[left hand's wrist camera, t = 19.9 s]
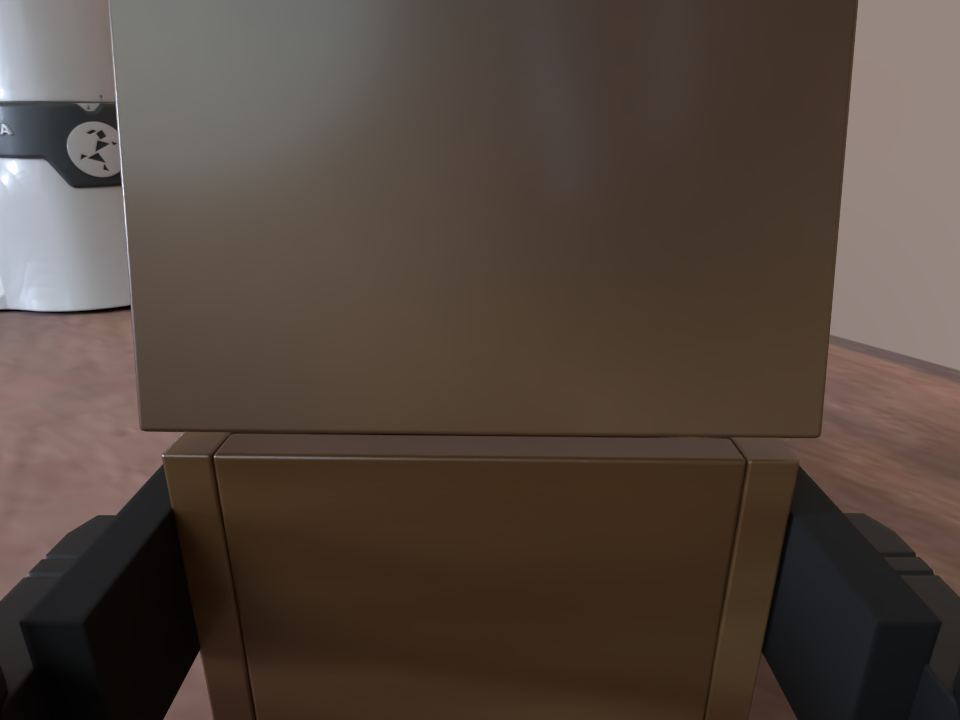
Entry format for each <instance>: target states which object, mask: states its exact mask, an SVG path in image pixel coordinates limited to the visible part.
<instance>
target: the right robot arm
mask: <svg viewBox="0 0 960 720" xmlns="http://www.w3.org/2000/svg"><path fill="white" fill-rule="evenodd" d="M128 305H131V304H130V291H129V278H128V264H127V251H126V238H125V225H124V211H123V198H122V185H121V171H120V158H119V145H118V131H117V118H116V105H115V92H114V78H113V65H112V52H111V38H110V25H109V12H108V0H0V309H18V310H29V311H81V310H94V309H104V308H113V307H121V306H128Z"/></svg>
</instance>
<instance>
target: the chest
mask: <svg viewBox="0 0 960 720" xmlns="http://www.w3.org/2000/svg"><path fill="white" fill-rule="evenodd" d="M162 460H163V465H164V470H165V475H166V480H167V485H168V491H169V496H170V501H171V506H172V508H173V512H174V517H175V522H176V527H177V532H178V538H179V543H180V548H181V553H182V558H183V563H184V568H185V573H186V578H187V583H188V588H189V593H190V598H191V603H192V609H193V614H194V619H195V624H196V629H197V634H198V639H199V644H200V653H201V658H202V663H203V668H204V673H205V678H206V684H207V689H208V694H209V699H210V704H211V709H212V714H213V719H214V720H748V717H749V712H750V707H751V702H752V697H753V692H754V687H755V682H756V677H757V673H758V668H759V663H760V658H761V653H762V648H763V643H764V638H765V633H766V628H767V623H768V618H769V613H770V608H771V603H772V598H773V593H774V588H775V583H776V578H777V573H778V568H779V563H780V558H781V553H782V548H783V543H784V538H785V533H786V528H787V523H788V518H789V513H790V508H791V503H792V498H793V493H794V488H795V483H796V478H797V473H798V468H799V461H798V459H797V458H796V457H795V456H794V455H793V454H792V453H791V451H790V450H789V449H788V448H787V447H786V446H785V445H784V443H783V442H782V441H781V440H780V439H779V438H743V437H644V436H545V435H446V434H347V433H248V432H184V433H183V434H182V435H181V436H180V437H179V438H178V439H177V440H176V441H175V442H174V443H173V444H172V445H171V446H170V447H169V448H168V449H167V450H166V451H165V452H164V453H163V455H162Z"/></svg>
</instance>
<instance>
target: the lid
mask: <svg viewBox="0 0 960 720" xmlns="http://www.w3.org/2000/svg"><path fill="white" fill-rule="evenodd" d="M857 8H858V0H108V12H109V25H110V38H111V52H112V65H113V78H114V92H115V105H116V118H117V131H118V145H119V158H120V171H121V185H122V198H123V211H124V225H125V238H126V251H127V264H128V278H129V291H130V304H131V318H132V331H133V344H134V358H135V371H136V384H137V397H138V411H139V424H140V429H141V430H143V431H149V432H248V433H347V434H446V435H545V436H644V437H743V438H817V437H820V435H821V427H822V415H823V404H824V392H825V380H826V369H827V357H828V345H829V334H830V322H831V311H832V299H833V287H834V276H835V264H836V252H837V241H838V229H839V217H840V206H841V194H842V182H843V171H844V159H845V148H846V136H847V124H848V112H849V101H850V90H851V78H852V66H853V54H854V43H855V31H856V20H857Z"/></svg>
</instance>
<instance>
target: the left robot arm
mask: <svg viewBox="0 0 960 720" xmlns="http://www.w3.org/2000/svg"><path fill="white" fill-rule="evenodd" d="M915 554H916V553H915V552H914V551H913V550H912V549H911V548H910V547H909V546H908V545H907V544H906V543H905V542H904V541H903V540H902V539H901V538H900V537H899V536H898V535H897V534H896V533H895V532H894V531H892V530H890V529H889V528H887V527H886V526H884V525H882V524H881V523H879V522H877V521H876V520H874V519H872V518H871V517H869V516H867V515H866V514H864V513H842V512H841V511H840V510H839V508H838V507H837V506H836V505H835V504H834V503H833V502H832V501H831V500H830V499H829V498H828V496H827V495H826V494H825V493H824V492H823V491H822V490H821V489H820V488H819V487H818V485H817V484H816V483H815V482H814V481H813V480H812V479H811V478H810V477H809V476H808V475H807V473H806V472H805V471H804V470H803V469H802V468H801V467H800V466H799V468H798V473H797V478H796V483H795V488H794V493H793V498H792V503H791V508H790V513H789V518H788V523H787V528H786V533H785V538H784V543H783V548H782V553H781V558H780V563H779V568H778V573H777V578H776V583H775V588H774V593H773V598H772V603H771V608H770V613H769V618H768V623H767V628H766V633H765V638H764V643H763V648H762V653H763V655H764V656H765V658H766V660H767V662H768V664H769V666H770V668H771V670H772V672H773V674H774V675H775V677H776V679H777V681H778V683H779V685H780V687H781V689H782V691H783V693H784V694H785V696H786V698H787V700H788V702H789V704H790V706H791V708H792V710H793V712H794V713H795V715H796V717H797V719H798V720H960V597H959V596H958V595H957V594H956V593H955V592H954V591H953V590H952V589H951V588H950V587H949V586H948V585H947V584H946V583H945V582H944V581H943V580H942V579H941V578H940V577H939V576H934V574H933V570H932V569H931V568H930V567H929V566H928V565H927V564H926V563H925V562H924V561H923V560H922V559H921V558H920V557H916V555H915ZM28 574H29V575H28V577H27V578H23V579H22V580H21V581H20V582H19V583H18V584H17V585H16V586H15V587H14V588H13V589H12V590H11V591H10V592H9V593H8V594H7V595H6V596H5V597H4V598H3V599H2V600H1V601H0V720H163V719H164V717H165V715H166V713H167V711H168V709H169V708H170V706H171V704H172V702H173V700H174V698H175V696H176V694H177V692H178V690H179V689H180V687H181V685H182V683H183V681H184V679H185V677H186V675H187V673H188V671H189V670H190V668H191V666H192V664H193V662H194V660H195V658H196V656H197V654H198V652H199V651H200V644H199V639H198V634H197V629H196V624H195V619H194V614H193V609H192V603H191V598H190V593H189V588H188V583H187V578H186V573H185V568H184V563H183V558H182V553H181V548H180V543H179V538H178V532H177V527H176V522H175V517H174V512H173V508H172V506H171V501H170V496H169V491H168V485H167V480H166V475H165V470H164V465H162V466H161V467H160V468H159V469H158V470H157V471H156V472H155V473H154V475H153V476H152V477H151V478H150V479H149V480H148V481H147V482H146V483H145V484H144V485H143V487H142V488H141V489H140V490H139V491H138V492H137V493H136V494H135V495H134V496H133V497H132V499H131V500H130V501H129V502H128V503H127V504H126V505H125V506H124V507H123V508H122V510H121V511H120V512H119V513H118V514H117V515H98V516H96V517H94V518H93V519H91V520H89V521H88V522H86V523H84V524H83V525H81V526H79V527H78V528H76V529H74V530H73V531H71V532H70V533H68V534H67V535H66V536H65V537H64V538H63V539H62V540H61V541H60V542H59V543H58V544H57V545H56V546H55V547H54V548H53V549H52V550H51V551H50V552H49V553H48V554H47V555H46V559H42V560H41V561H40V562H39V563H38V564H37V565H36V566H35V567H34V568H33V569H32V570H31V571H30V572H29V573H28Z"/></svg>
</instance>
